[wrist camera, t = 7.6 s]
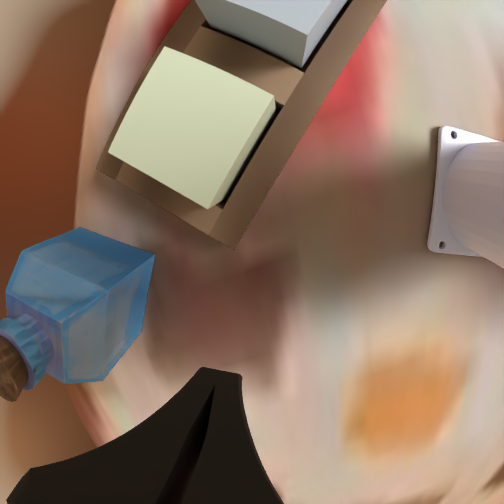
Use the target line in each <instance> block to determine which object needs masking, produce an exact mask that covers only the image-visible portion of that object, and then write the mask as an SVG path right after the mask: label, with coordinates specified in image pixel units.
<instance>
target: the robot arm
mask: <svg viewBox="0 0 504 504" xmlns="http://www.w3.org/2000/svg"><path fill="white" fill-rule="evenodd" d="M451 132H453V133H454V139H453V138H452V137H451ZM442 241H443V245H442V247H441V248H439V244H440V242H442ZM427 246H428V249H429V250H431V251H432V252H437V253H448V254H458V255H468V256H478V257H485V258H486V259H488V260H490V261H492V262H493V263H495V264H497V265H498V266H500V267H502V268H503V269H504V142H500V141H497V140H494V139H491V138H488V137H485V136H482V135H478V134H475V133H472V132H468V131H465V130H462V129H458V128H454V127H451V126H442V127H440V129H439V132H438V154H437V168H436V180H435V190H434V199H433V207H432V215H431V222H430V229H429V235H428V241H427ZM6 501H7V504H284V503H283V501H282V500H281V498H280V496H279V495H278V493H277V492H276V490H275V488H274V487H273V485H272V483H271V481H270V479H269V477H268V475H267V473H266V471H265V469H264V467H263V465H262V463H261V460H260V458H259V456H258V453H257V451H256V448H255V445H254V442H253V439H252V436H251V433H250V430H249V426H248V423H247V418H246V414H245V410H244V404H243V397H242V376H241V375H240V374H237V373H231V372H226V371H221V370H216V369H211V368H206V367H201V368H200V369H199V370H198V371H197V372H196V373H195V375H194V376H193V377H192V378H191V379H190V380H189V381H188V382H187V383H186V385H185V386H184V387H183V388H182V389H181V390H180V391H179V392H178V393H177V394H175V395H174V396H173V397H172V398H171V399H170V400H169V401H168V402H167V403H166V404H165V405H163V406H162V407H161V408H160V409H158V410H157V411H156V412H155V413H154V414H152V415H151V416H150V417H148V418H147V419H146V420H144V421H143V422H142V423H140V424H139V425H137V426H136V427H134V428H133V429H131V430H130V431H128V432H126V433H125V434H123V435H121V436H119V437H118V438H116V439H114V440H112V441H110V442H108V443H106V444H104V445H102V446H100V447H98V448H96V449H93V450H91V451H88V452H86V453H83V454H81V455H78V456H75V457H73V458H70V459H67V460H64V461H60V462H56V463H52V464H48V465H44V466H40V467H35V468H31V469H30V470H29V471H28V472H27V473H26V474H25V475H24V476H23V477H22V478H21V480H20V481H19V482H18V484H17V485H16V487H15V488H14V489H13V491H12V492H11V494H10V495H9V497H8V498H7V500H6Z"/></svg>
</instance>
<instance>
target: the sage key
mask: <svg viewBox="0 0 504 504" xmlns="http://www.w3.org/2000/svg"><path fill="white" fill-rule="evenodd" d="M275 115H276V106H275V99H274V95H272V94H270V93H268V92H266V91H264V90H262V89H260V88H258V87H256V86H254V85H252V84H250V83H248V82H246V81H244V80H242V79H240V78H238V77H236V76H234V75H232V74H230V73H227V72H225V71H223V70H221V69H219V68H217V67H214V66H212V65H210V64H207V63H205V62H203V61H200V60H198V59H196V58H193V57H191V56H188V55H186V54H183V53H181V52H178V51H176V50H173V49H171V48H168V47H165V46H164V48H163V50H162V51H161V53H160V54H159V56H158V58H157V59H156V61H155V63H154V64H153V66H152V68H151V69H150V71H149V73H148V74H147V76H146V78H145V80H144V81H143V83H142V85H141V87H140V88H139V90H138V92H137V94H136V96H135V98H134V99H133V101H132V103H131V105H130V107H129V109H128V111H127V113H126V115H125V117H124V119H123V121H122V123H121V125H120V127H119V129H118V131H117V133H116V135H115V137H114V140H113V142H112V144H111V146H110V148H109V151H108V153H110V154H112V155H114V156H115V157H117V158H119V159H121V160H122V161H124V162H126V163H128V164H129V165H131V166H133V167H135V168H137V169H138V170H140V171H142V172H144V173H145V174H147V175H149V176H151V177H152V178H154V179H156V180H158V181H159V182H161V183H163V184H165V185H166V186H168V187H170V188H172V189H173V190H175V191H177V192H179V193H180V194H182V195H184V196H185V197H187V198H189V199H191V200H192V201H194V202H196V203H198V204H199V205H201V206H203V207H204V208H206V209H209V208H211V207H212V206H214V205H216V204H217V203H219V202H221V201H222V200H224V199H226V198H227V196H228V195H229V193H230V191H231V189H232V188H233V186H234V184H235V182H236V181H237V179H238V177H239V175H240V174H241V172H242V170H243V168H244V167H245V165H246V163H247V162H248V160H249V158H250V156H251V155H252V153H253V151H254V150H255V148H256V146H257V145H258V143H259V141H260V140H261V138H262V136H263V135H264V133H265V131H266V130H267V128H268V126H269V125H270V123H271V121H272V120H273V118H274V116H275Z"/></svg>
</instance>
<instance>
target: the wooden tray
mask: <svg viewBox="0 0 504 504" xmlns="http://www.w3.org/2000/svg"><path fill="white" fill-rule="evenodd" d="M386 1H387V0H347V2H346V3H345V4H344V6H343V7H342V9H341V10H340V12H339V13H338V14H337V16H336V17H335V19H334V20H333V22H332V23H331V25H330V26H329V28H328V29H327V30H326V32H325V33H324V35H323V36H322V38H321V39H320V41H319V42H318V44H317V45H316V47H315V48H314V50H313V51H312V53H311V54H310V56H309V57H308V59H307V61H306V62H305V64H304V65H303V67H302V68H300V67H298V66H296V65H294V64H292V63H290V62H288V61H286V60H284V59H282V58H280V57H278V56H276V55H274V54H272V53H270V52H268V51H266V50H264V49H262V48H260V47H257V46H255V45H253V44H251V43H249V42H246V41H244V40H242V39H239V38H237V37H235V36H232V35H230V34H227V33H225V32H222V31H220V30H217V29H215V28H212V27H210V25H209V23H208V22H207V20H206V18H205V16H204V15H203V13H202V11H201V10H200V8H199V6H198V5H197V3H196V2H195V0H191V1H190V2H189V4H188V5H187V6H186V8H185V9H184V10H183V12H182V13H181V15H180V16H179V17H178V19H177V20H176V22H175V23H174V25H173V26H172V27H171V29H170V30H169V32H168V33H167V35H166V36H165V38H164V39H163V41H162V43H161V44H160V46H159V47H158V49H157V50H156V52H155V54H154V55H153V57H152V58H151V60H150V62H149V63H148V65H147V67H146V68H145V70H144V72H143V74H142V75H141V77H140V79H139V81H138V82H137V84H136V86H135V88H134V90H133V91H132V93H131V95H130V97H129V99H128V101H127V103H126V105H125V107H124V109H123V111H122V113H121V115H120V117H119V119H118V121H117V123H116V125H115V127H114V129H113V131H112V133H111V135H110V137H109V140H108V142H107V144H106V146H105V148H104V151H103V153H102V155H101V158H100V160H99V162H98V165H97V167H96V169H97V170H99V171H101V172H103V173H104V174H106V175H108V176H109V177H111V178H113V179H114V180H116V181H118V182H119V183H121V184H123V185H124V186H126V187H128V188H129V189H131V190H133V191H134V192H136V193H138V194H139V195H141V196H143V197H145V198H146V199H148V200H150V201H151V202H153V203H155V204H156V205H158V206H160V207H161V208H163V209H165V210H166V211H168V212H170V213H172V214H173V215H175V216H177V217H178V218H180V219H182V220H183V221H185V222H187V223H188V224H190V225H192V226H194V227H195V228H197V229H199V230H200V231H202V232H204V233H205V234H207V235H209V236H211V237H212V238H214V239H216V240H217V241H219V242H221V243H223V244H224V245H226V246H228V247H229V248H231V249H233V250H234V249H235V247H236V246H237V244H238V242H239V241H240V239H241V237H242V236H243V234H244V232H245V230H246V229H247V227H248V225H249V224H250V222H251V220H252V219H253V217H254V215H255V214H256V212H257V210H258V209H259V207H260V205H261V203H262V202H263V200H264V198H265V197H266V195H267V193H268V192H269V190H270V188H271V187H272V185H273V183H274V182H275V180H276V178H277V177H278V175H279V173H280V172H281V170H282V168H283V167H284V165H285V163H286V162H287V160H288V158H289V157H290V155H291V153H292V152H293V150H294V149H295V147H296V145H297V144H298V142H299V140H300V139H301V137H302V135H303V134H304V132H305V130H306V129H307V127H308V126H309V124H310V122H311V121H312V119H313V117H314V116H315V114H316V112H317V111H318V109H319V108H320V106H321V104H322V103H323V101H324V99H325V98H326V96H327V95H328V93H329V91H330V90H331V88H332V87H333V85H334V83H335V82H336V80H337V78H338V77H339V75H340V74H341V72H342V70H343V69H344V67H345V66H346V64H347V62H348V61H349V59H350V58H351V56H352V54H353V53H354V51H355V50H356V48H357V47H358V45H359V43H360V42H361V40H362V39H363V37H364V35H365V34H366V32H367V31H368V29H369V28H370V26H371V24H372V23H373V21H374V20H375V18H376V17H377V15H378V14H379V12H380V10H381V9H382V7H383V6H384V4H385V3H386ZM164 46H165V47H168V48H171V49H173V50H176V51H178V52H181V53H183V54H186V55H188V56H191V57H193V58H196V59H198V60H200V61H203V62H205V63H207V64H210V65H212V66H214V67H217V68H219V69H221V70H223V71H225V72H227V73H230V74H232V75H234V76H236V77H238V78H240V79H242V80H244V81H246V82H248V83H250V84H252V85H254V86H256V87H258V88H260V89H262V90H264V91H266V92H268V93H270V94H272V95H274V99H275V106H276V115H275V116H274V118H273V120H272V121H271V123H270V125H269V126H268V128H267V130H266V131H265V133H264V135H263V136H262V138H261V140H260V141H259V143H258V145H257V146H256V148H255V150H254V151H253V153H252V155H251V156H250V158H249V160H248V162H247V163H246V165H245V167H244V168H243V170H242V172H241V174H240V175H239V177H238V179H237V181H236V182H235V184H234V186H233V188H232V189H231V191H230V193H229V195H228V196H227V198H226V199H224V200H222V201H221V202H219V203H217V204H216V205H214V206H212V207H211V208H209V209H206V208H204V207H203V206H201V205H199V204H198V203H196V202H194V201H192V200H191V199H189V198H187V197H185V196H184V195H182V194H180V193H179V192H177V191H175V190H173V189H172V188H170V187H168V186H166V185H165V184H163V183H161V182H159V181H158V180H156V179H154V178H152V177H151V176H149V175H147V174H145V173H144V172H142V171H140V170H138V169H137V168H135V167H133V166H131V165H129V164H128V163H126V162H124V161H122V160H121V159H119V158H117V157H115V156H114V155H112V154H110V153H108V151H109V148H110V146H111V144H112V142H113V140H114V137H115V135H116V133H117V131H118V129H119V127H120V125H121V123H122V121H123V119H124V117H125V115H126V113H127V111H128V109H129V107H130V105H131V103H132V101H133V99H134V98H135V96H136V94H137V92H138V90H139V88H140V87H141V85H142V83H143V81H144V80H145V78H146V76H147V74H148V73H149V71H150V69H151V68H152V66H153V64H154V63H155V61H156V59H157V58H158V56H159V54H160V53H161V51H162V50H163V48H164Z"/></svg>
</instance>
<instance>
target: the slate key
mask: <svg viewBox="0 0 504 504" xmlns="http://www.w3.org/2000/svg"><path fill="white" fill-rule="evenodd" d="M195 2H196V3H197V5H198V6H199V8H200V10H201V11H202V13H203V15H204V16H205V18H206V20H207V22H208V23H209V25H210V27H212V28H215V29H217V30H220V31H222V32H225V33H227V34H230V35H232V36H235V37H237V38H239V39H242V40H244V41H246V42H249V43H251V44H253V45H255V46H257V47H260V48H262V49H264V50H266V51H268V52H270V53H272V54H274V55H276V56H278V57H280V58H282V59H284V60H286V61H288V62H290V63H292V64H294V65H296V66H298V67H300V68H302V67H303V65H304V64H305V62H306V61H307V59H308V57H309V56H310V54H311V53H312V51H313V50H314V48H315V47H316V45H317V44H318V42H319V41H320V39H321V38H322V36H323V35H324V33H325V32H326V30H327V29H328V28H329V26H330V25H331V23H332V22H333V20H334V19H335V17H336V16H337V14H338V13H339V12H340V10H341V9H342V7H343V6H344V4H345V3H346V2H347V0H195Z"/></svg>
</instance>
